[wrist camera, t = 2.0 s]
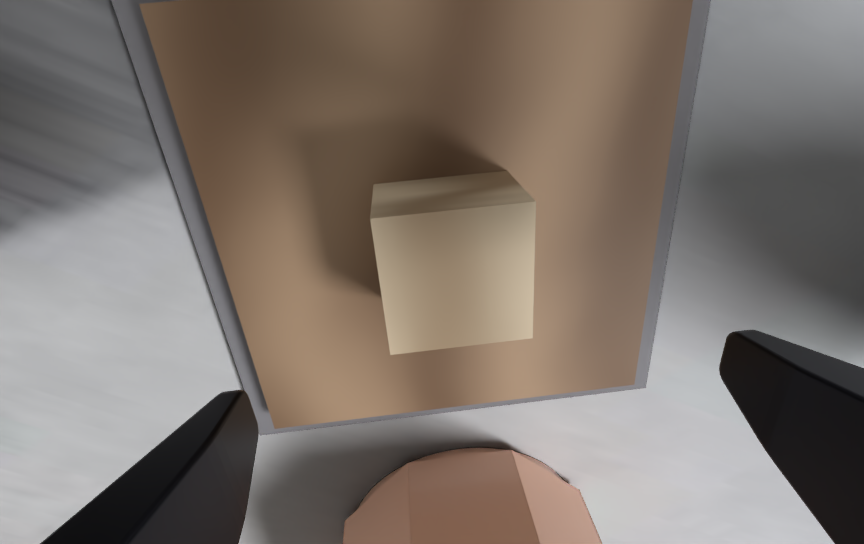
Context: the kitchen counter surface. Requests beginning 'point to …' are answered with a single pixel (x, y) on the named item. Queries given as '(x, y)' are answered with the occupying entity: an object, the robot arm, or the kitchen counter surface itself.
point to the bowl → (472, 503)
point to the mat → (198, 224)
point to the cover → (428, 189)
